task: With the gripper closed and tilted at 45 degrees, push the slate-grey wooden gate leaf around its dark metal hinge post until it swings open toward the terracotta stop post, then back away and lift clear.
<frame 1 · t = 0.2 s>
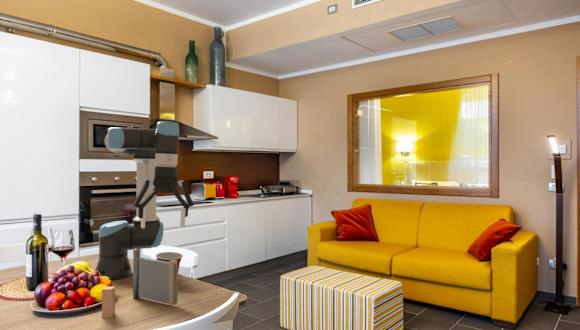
hand: (163, 227, 139), 28 cm above the table, tool pointing down, fingers open, 13 cm apart
stop post: (108, 315, 131), on the table
gate leaf: (157, 279, 142), point 9 cm above the table, hinge at 0.0°
gate post: (136, 297, 147), on the table
plastic cup: (169, 283, 165), on the table
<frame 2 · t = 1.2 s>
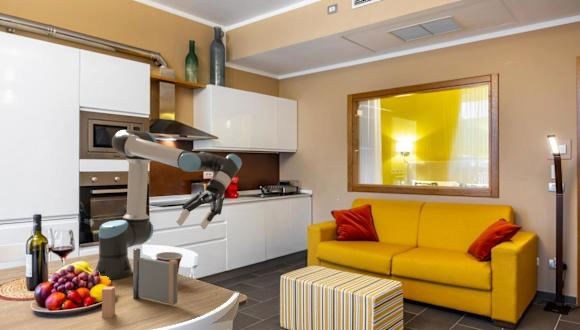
hand: (190, 225, 154), 26 cm above the table, tool tilted 45°, fingers open, 13 cm apart
nothing on the table moved.
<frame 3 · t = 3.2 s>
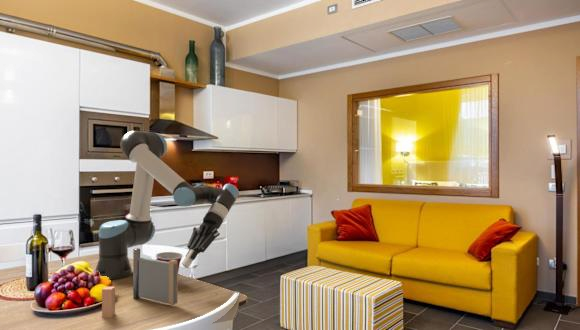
hand: (184, 266, 150), 11 cm above the table, tool tilted 45°, fingers closed
nothing on the table moved.
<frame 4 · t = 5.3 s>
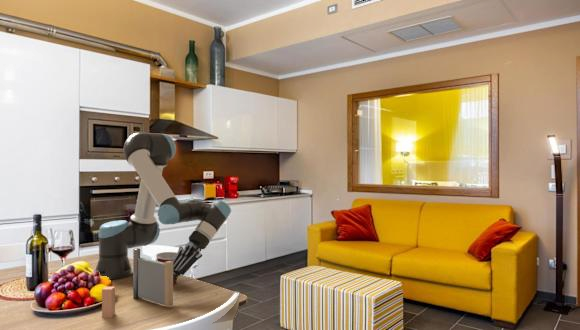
hand: (162, 288, 142), 5 cm above the table, tool tilted 45°, fingers closed
gate leaf: (154, 279, 141), point 9 cm above the table, hinge at 6.1°, touching gripper
everything else where it was.
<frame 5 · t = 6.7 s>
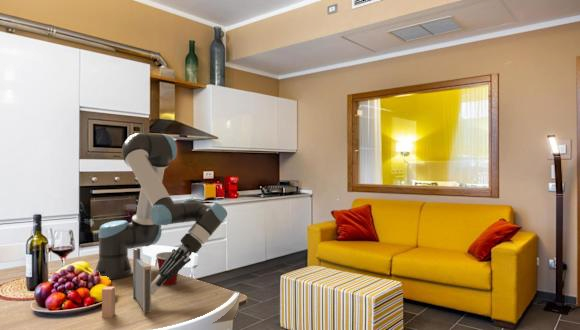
hand: (149, 292, 138), 5 cm above the table, tool tilted 45°, fingers closed
gate leaf: (142, 282, 138), point 8 cm above the table, hinge at 30.8°, touching gripper
everything else where it was.
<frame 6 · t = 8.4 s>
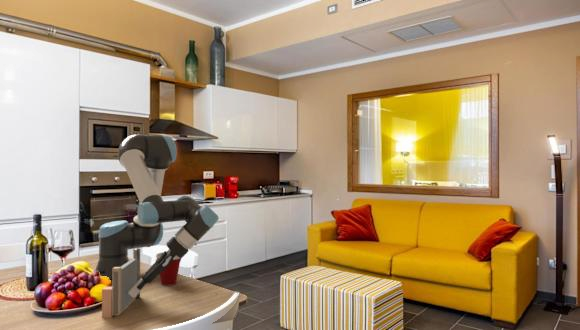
hand: (131, 294, 136), 5 cm above the table, tool tilted 45°, fingers closed
gate leaf: (125, 283, 137), point 9 cm above the table, hinge at 60.1°, touching gripper
everything else where it was.
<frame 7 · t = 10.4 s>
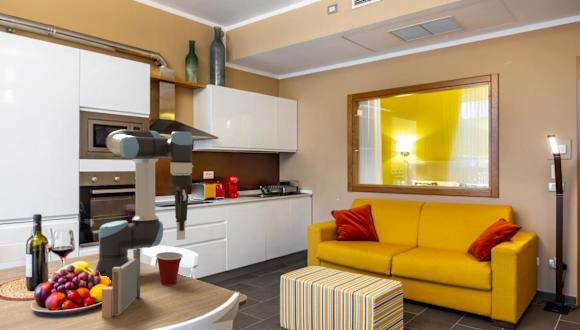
hand: (180, 239, 145), 22 cm above the table, tool pointing down, fingers closed
gate leaf: (125, 283, 137), point 8 cm above the table, hinge at 60.1°
everything else where it was.
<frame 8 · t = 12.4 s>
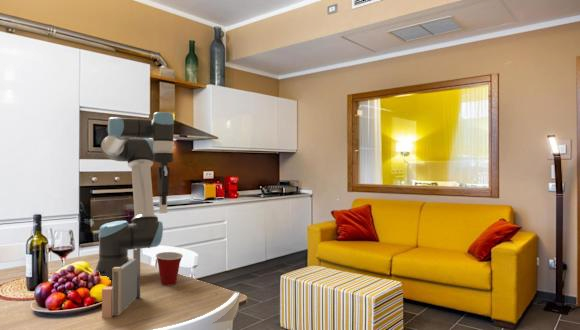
hand: (163, 212, 155), 30 cm above the table, tool pointing down, fingers closed
nothing on the table moved.
at the end: gate leaf at +60° (first picture: +0°); plastic cup moved 0.2 cm from its start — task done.
